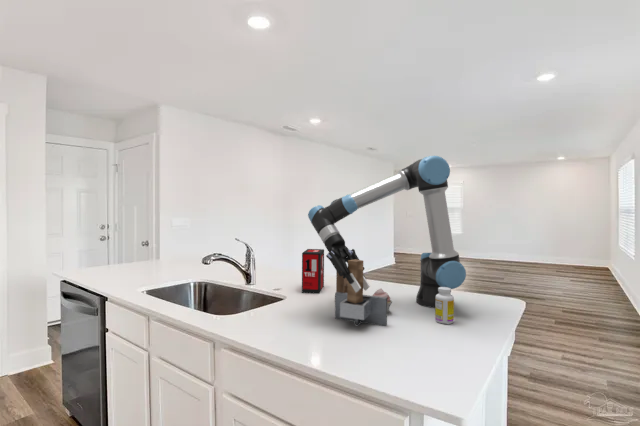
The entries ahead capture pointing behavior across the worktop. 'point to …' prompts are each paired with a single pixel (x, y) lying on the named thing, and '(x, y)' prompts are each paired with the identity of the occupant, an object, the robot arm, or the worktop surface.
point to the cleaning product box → (312, 271)
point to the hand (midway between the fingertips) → (363, 289)
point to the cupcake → (383, 294)
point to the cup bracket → (361, 309)
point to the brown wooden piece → (341, 283)
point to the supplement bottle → (444, 306)
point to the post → (357, 271)
